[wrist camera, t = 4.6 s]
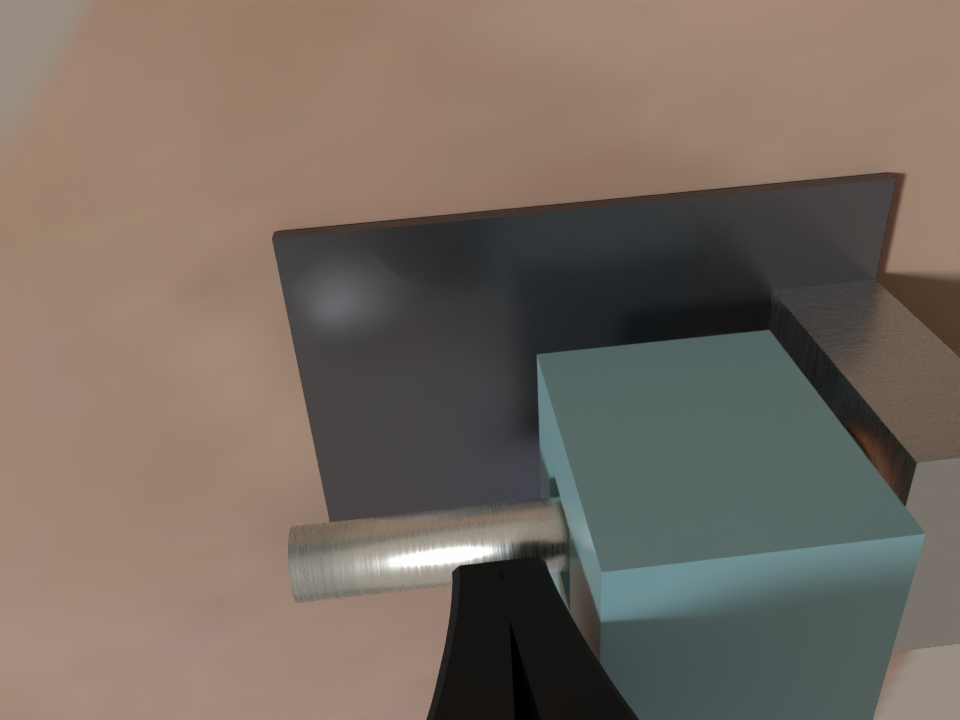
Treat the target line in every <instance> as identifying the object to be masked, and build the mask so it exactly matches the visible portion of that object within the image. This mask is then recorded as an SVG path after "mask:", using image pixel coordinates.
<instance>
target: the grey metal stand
mask: <svg viewBox="0 0 960 720" xmlns="http://www.w3.org/2000/svg"><path fill="white" fill-rule="evenodd" d="M895 181H896V178H894V177H893V176H891V175H890V174H888V173H882V174H872V175H861V176H851V177H841V178H830V179H820V180H809V181H799V182H789V183H778V184H768V185H757V186H747V187H737V188H726V189H716V190H705V191H695V192H684V193H674V194H664V195H653V196H643V197H632V198H622V199H612V200H601V201H591V202H580V203H570V204H560V205H549V206H539V207H528V208H518V209H508V210H497V211H487V212H476V213H466V214H456V215H445V216H435V217H424V218H414V219H404V220H393V221H383V222H372V223H362V224H352V225H341V226H331V227H320V228H310V229H300V230H289V231H279V232H274V233H273V237H272V241H273V246H274V251H275V256H276V260H277V265H278V270H279V275H280V280H281V285H282V290H283V295H284V300H285V304H286V309H287V314H288V319H289V324H290V329H291V334H292V339H293V344H294V348H295V353H296V358H297V363H298V368H299V373H300V378H301V383H302V388H303V392H304V397H305V402H306V407H307V412H308V417H309V422H310V427H311V432H312V436H313V441H314V446H315V451H316V456H317V461H318V466H319V471H320V476H321V480H322V485H323V490H324V495H325V500H326V505H327V510H328V515H329V520H330V522H327V523H318V524H310V525H301V526H292V527H291V529H290V533H289V541H288V564H289V575H290V583H291V588H292V593H293V596H294V599H295V601H296V603H305V602H313V601H321V600H330V599H338V598H347V597H355V596H364V595H372V594H381V593H389V592H397V591H406V590H414V589H423V588H431V587H440V586H448V585H452V572H453V571H454V570H455V569H456V568H457V567H458V566H459V565H467V564H476V563H484V562H493V561H501V560H510V559H518V558H527V557H535V556H538V557H540V558H541V559H543V560H544V561H545V562H546V565H547V567H548V570H549V572H550V573H558V572H566V571H570V532H569V527H568V524H567V520H566V516H565V513H564V509H563V505H562V501H561V498H560V496H556V497H547V498H541V475H540V442H539V409H538V377H537V354H544V353H554V352H563V351H573V350H583V349H592V348H602V347H611V346H621V345H630V344H640V343H649V342H659V341H668V340H678V339H687V338H697V337H706V336H716V335H725V334H735V333H744V332H754V331H763V330H770V331H771V333H772V334H773V335H774V336H775V338H776V339H777V340H778V342H779V343H780V344H781V346H782V347H783V348H784V350H785V351H786V352H787V353H788V355H789V356H790V357H791V359H792V360H793V361H794V363H795V364H796V365H797V366H798V368H799V369H800V370H801V372H802V373H803V374H804V376H805V377H806V378H807V380H808V381H809V382H810V383H811V385H812V386H813V387H814V389H815V390H816V391H817V393H818V394H819V395H820V396H821V398H822V399H823V400H824V402H825V403H826V404H827V406H828V407H829V408H830V410H831V411H832V412H833V413H834V415H835V416H836V417H837V419H838V420H839V421H840V423H841V424H842V425H843V427H844V428H845V429H846V430H847V432H848V433H849V434H850V436H851V437H852V438H853V440H854V441H855V442H856V443H857V445H858V446H859V447H860V449H861V450H862V451H863V453H864V454H865V455H866V457H867V458H868V459H869V460H870V462H871V463H872V464H873V466H874V467H875V468H876V470H877V471H878V472H879V473H880V475H881V476H882V477H883V479H884V480H885V481H886V483H887V484H888V485H889V487H890V488H891V489H892V490H893V492H894V493H895V494H896V496H897V497H898V498H899V500H900V501H901V502H902V504H903V505H904V506H905V507H906V509H907V510H908V511H909V513H910V514H911V515H912V517H913V518H914V519H915V520H916V522H917V523H918V524H919V526H920V527H921V528H922V530H923V531H924V532H925V534H926V535H925V538H924V542H923V545H922V549H921V552H920V556H919V559H918V563H917V566H916V570H915V573H914V577H913V580H912V584H911V587H910V591H909V594H908V598H907V601H906V604H905V608H904V611H903V615H902V618H901V622H900V625H899V629H898V632H897V636H896V639H895V643H894V646H893V650H892V652H897V651H905V650H913V649H921V648H929V647H936V646H944V645H952V644H960V357H959V356H958V355H956V354H955V353H954V352H953V351H952V350H951V349H950V348H949V347H948V346H947V345H946V344H945V343H943V342H942V341H941V340H940V339H939V338H938V337H937V336H936V335H935V334H934V333H933V332H932V331H931V330H929V329H928V328H927V327H926V326H925V325H924V324H923V323H922V322H921V321H920V320H919V319H918V318H916V317H915V316H914V315H913V314H912V313H911V312H910V311H909V310H908V309H907V308H906V307H905V306H904V305H902V304H901V303H900V302H899V301H898V300H897V299H896V298H895V297H894V296H893V295H892V294H891V293H889V292H888V291H887V290H886V289H885V288H884V287H883V286H882V285H881V284H880V283H879V282H878V281H877V280H876V275H877V270H878V265H879V260H880V255H881V250H882V245H883V240H884V235H885V230H886V226H887V221H888V216H889V211H890V206H891V201H892V196H893V191H894V186H895Z"/></svg>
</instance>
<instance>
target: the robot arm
mask: <svg viewBox="0 0 960 720" xmlns="http://www.w3.org/2000/svg"><path fill="white" fill-rule="evenodd" d="M427 720H639V719H638V717H637V716H636V714H635V713H634V712H633V710H632V709H631V708H630V706H629V705H628V704H627V702H626V701H625V700H624V698H623V697H622V695H621V694H620V692H619V691H618V689H617V688H616V687H615V685H614V684H613V682H612V681H611V679H610V678H609V676H608V675H607V673H606V672H605V670H604V669H603V667H602V665H601V664H600V662H599V661H598V659H597V658H596V656H595V655H594V653H593V652H592V650H591V649H590V647H589V645H588V644H587V642H586V640H585V639H584V637H583V635H582V634H581V632H580V630H579V629H578V627H577V625H576V623H575V622H574V620H573V618H572V616H571V615H570V613H569V611H568V609H567V607H566V605H565V604H564V602H563V600H562V598H561V596H560V594H559V592H558V590H557V588H556V586H555V584H554V581H553V579H552V577H551V575H550V572H549V570H548V567H547V565H546V562H545V561H544V560H543V559H541V558H540V557H538V556H535V557H527V558H518V559H510V560H501V561H493V562H484V563H476V564H467V565H459V566H458V567H457V568H456V569H455V570H454V571H453V572H452V601H451V611H450V619H449V625H448V631H447V637H446V643H445V648H444V653H443V657H442V661H441V666H440V670H439V675H438V679H437V683H436V688H435V692H434V696H433V699H432V703H431V706H430V710H429V713H428V716H427Z"/></svg>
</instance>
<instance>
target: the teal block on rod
mask: <svg viewBox="0 0 960 720" xmlns="http://www.w3.org/2000/svg"><path fill="white" fill-rule="evenodd" d="M537 377H538V409H539V442H540V475H541V498H547V497H556V496H560V498H561V501H562V505H563V509H564V513H565V516H566V520H567V524H568V527H569V532H570V571H566V572H558V573H550V575H551V577H552V579H553V581H554V584H555V586H556V588H557V590H558V592H559V594H560V596H561V598H562V600H563V602H564V604H565V605H566V607H567V609H568V611H569V613H570V615H571V616H572V618H573V620H574V622H575V623H576V625H577V627H578V629H579V630H580V632H581V634H582V635H583V637H584V639H585V640H586V642H587V644H588V645H589V647H590V649H591V650H592V652H593V653H594V655H595V656H596V658H597V659H598V661H599V662H600V664H601V665H602V667H603V669H604V670H605V672H606V673H607V675H608V676H609V678H610V679H611V681H612V682H613V684H614V685H615V687H616V688H617V689H618V691H619V692H620V694H621V695H622V697H623V698H624V700H625V701H626V702H627V704H628V705H629V706H630V708H631V709H632V710H633V712H634V713H635V714H636V716H637V717H638V719H639V720H872V719H873V716H874V712H875V709H876V705H877V702H878V698H879V695H880V692H881V688H882V685H883V681H884V678H885V674H886V671H887V667H888V664H889V660H890V657H891V653H892V650H893V646H894V643H895V639H896V636H897V632H898V629H899V625H900V622H901V618H902V615H903V611H904V608H905V604H906V601H907V598H908V594H909V591H910V587H911V584H912V580H913V577H914V573H915V570H916V566H917V563H918V559H919V556H920V552H921V549H922V545H923V542H924V538H925V535H926V534H925V532H924V531H923V530H922V528H921V527H920V526H919V524H918V523H917V522H916V520H915V519H914V518H913V517H912V515H911V514H910V513H909V511H908V510H907V509H906V507H905V506H904V505H903V504H902V502H901V501H900V500H899V498H898V497H897V496H896V494H895V493H894V492H893V490H892V489H891V488H890V487H889V485H888V484H887V483H886V481H885V480H884V479H883V477H882V476H881V475H880V473H879V472H878V471H877V470H876V468H875V467H874V466H873V464H872V463H871V462H870V460H869V459H868V458H867V457H866V455H865V454H864V453H863V451H862V450H861V449H860V447H859V446H858V445H857V443H856V442H855V441H854V440H853V438H852V437H851V436H850V434H849V433H848V432H847V430H846V429H845V428H844V427H843V425H842V424H841V423H840V421H839V420H838V419H837V417H836V416H835V415H834V413H833V412H832V411H831V410H830V408H829V407H828V406H827V404H826V403H825V402H824V400H823V399H822V398H821V396H820V395H819V394H818V393H817V391H816V390H815V389H814V387H813V386H812V385H811V383H810V382H809V381H808V380H807V378H806V377H805V376H804V374H803V373H802V372H801V370H800V369H799V368H798V366H797V365H796V364H795V363H794V361H793V360H792V359H791V357H790V356H789V355H788V353H787V352H786V351H785V350H784V348H783V347H782V346H781V344H780V343H779V342H778V340H777V339H776V338H775V336H774V335H773V334H772V333H771V331H770V330H763V331H754V332H744V333H735V334H725V335H716V336H706V337H697V338H687V339H678V340H668V341H659V342H649V343H640V344H630V345H621V346H611V347H602V348H592V349H583V350H573V351H563V352H554V353H544V354H537Z"/></svg>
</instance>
